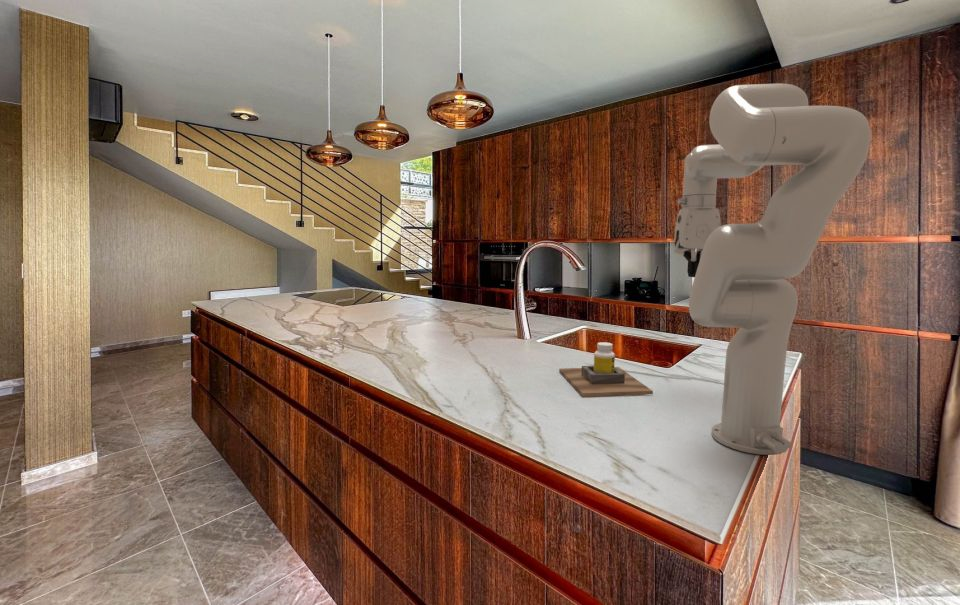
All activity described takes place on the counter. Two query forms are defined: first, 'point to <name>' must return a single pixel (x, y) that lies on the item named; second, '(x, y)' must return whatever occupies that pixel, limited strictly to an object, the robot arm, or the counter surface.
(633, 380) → the collar board
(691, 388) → the counter surface
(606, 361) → the supplement bottle
